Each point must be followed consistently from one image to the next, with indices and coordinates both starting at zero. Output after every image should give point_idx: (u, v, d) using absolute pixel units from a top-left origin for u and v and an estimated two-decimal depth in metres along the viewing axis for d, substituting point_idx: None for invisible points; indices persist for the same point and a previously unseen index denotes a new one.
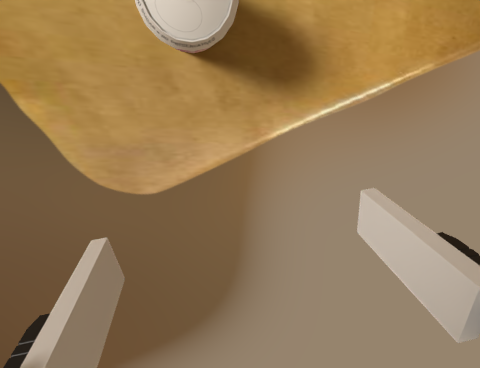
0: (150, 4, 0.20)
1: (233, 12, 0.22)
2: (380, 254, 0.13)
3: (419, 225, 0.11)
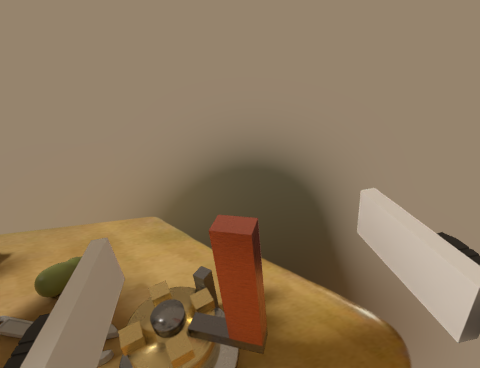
0: None
1: None
2: (380, 254, 0.13)
3: (419, 225, 0.11)
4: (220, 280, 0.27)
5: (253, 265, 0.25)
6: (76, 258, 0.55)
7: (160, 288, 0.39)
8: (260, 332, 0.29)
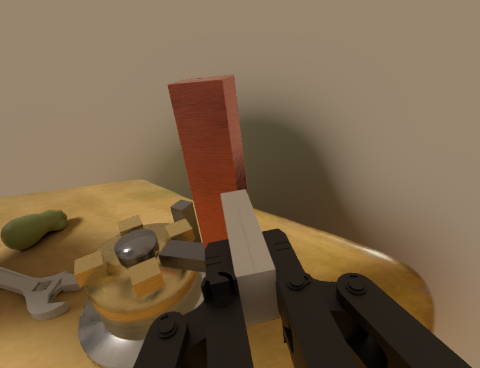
0: None
1: None
2: None
3: (253, 222, 0.12)
4: (189, 168, 0.21)
5: (228, 133, 0.19)
6: (50, 210, 0.50)
7: (131, 221, 0.33)
8: None
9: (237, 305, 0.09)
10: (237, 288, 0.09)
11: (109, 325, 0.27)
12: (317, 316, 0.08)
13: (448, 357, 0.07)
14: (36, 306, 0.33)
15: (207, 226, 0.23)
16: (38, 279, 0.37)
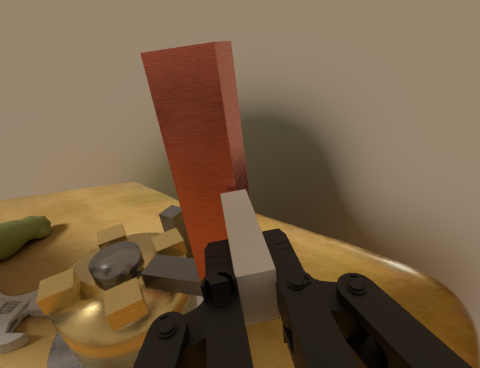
0: None
1: None
2: None
3: (253, 222, 0.12)
4: (173, 167, 0.16)
5: (223, 119, 0.14)
6: (32, 216, 0.45)
7: (112, 232, 0.28)
8: None
9: (237, 305, 0.09)
10: (237, 288, 0.09)
11: (81, 361, 0.22)
12: (318, 315, 0.08)
13: (448, 357, 0.07)
14: None
15: (199, 241, 0.18)
16: (7, 298, 0.33)
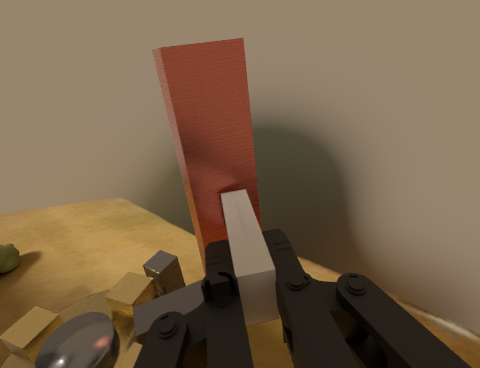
0: None
1: None
2: None
3: (252, 222, 0.12)
4: (193, 176, 0.15)
5: (248, 113, 0.14)
6: None
7: (30, 322, 0.19)
8: None
9: (237, 305, 0.09)
10: (237, 288, 0.09)
11: None
12: (317, 315, 0.08)
13: (448, 357, 0.07)
14: None
15: None
16: None
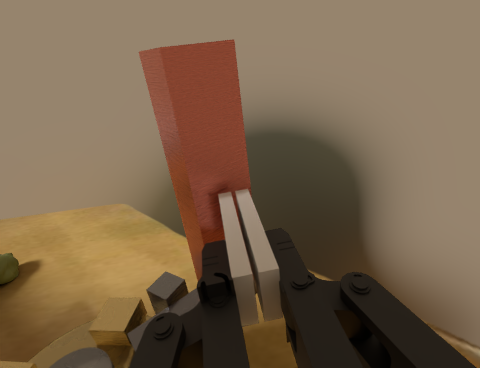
0: None
1: None
2: (246, 248, 0.15)
3: (255, 222, 0.12)
4: (193, 179, 0.14)
5: (240, 112, 0.15)
6: None
7: None
8: None
9: (233, 306, 0.09)
10: (233, 289, 0.09)
11: None
12: (321, 315, 0.08)
13: (452, 356, 0.07)
14: None
15: None
16: None
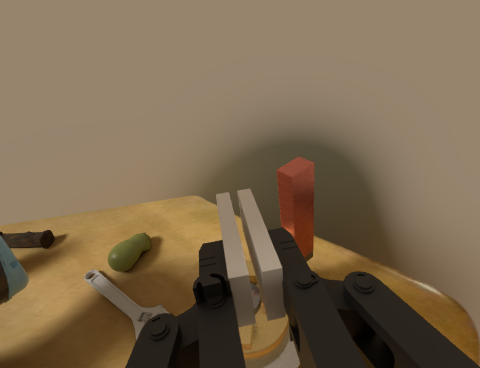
0: None
1: None
2: (248, 247, 0.15)
3: (258, 221, 0.12)
4: (295, 216, 0.35)
5: (313, 186, 0.35)
6: (138, 235, 0.59)
7: None
8: (312, 239, 0.41)
9: (230, 306, 0.09)
10: (229, 289, 0.09)
11: (272, 355, 0.36)
12: (325, 314, 0.08)
13: (456, 356, 0.07)
14: None
15: (298, 242, 0.38)
16: (142, 308, 0.47)
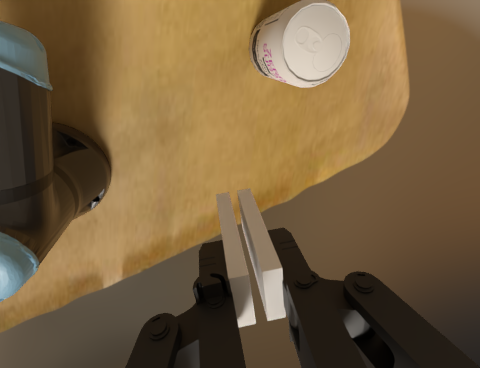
0: (321, 75, 0.28)
1: (329, 3, 0.26)
2: (248, 247, 0.15)
3: (258, 221, 0.12)
4: None
5: None
6: None
7: None
8: None
9: (230, 306, 0.09)
10: (230, 289, 0.09)
11: None
12: (325, 314, 0.08)
13: (455, 356, 0.07)
14: None
15: None
16: None
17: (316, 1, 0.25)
